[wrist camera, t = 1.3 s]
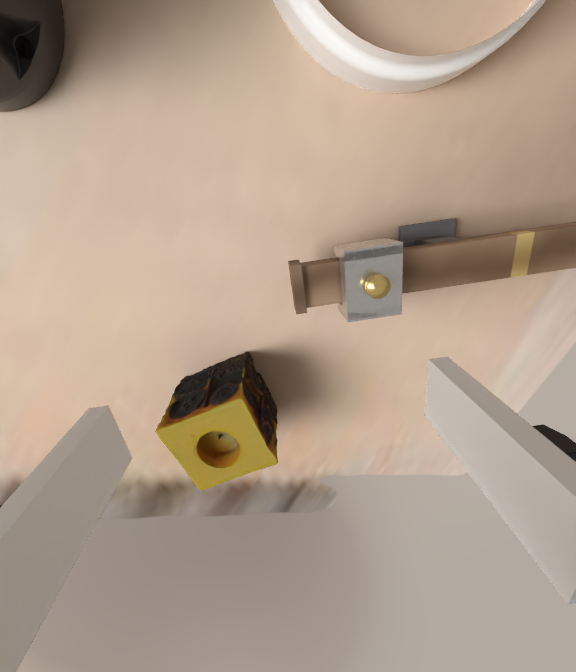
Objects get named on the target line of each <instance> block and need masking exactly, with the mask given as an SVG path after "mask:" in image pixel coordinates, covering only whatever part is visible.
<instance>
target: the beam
mask: <svg viewBox="0 0 576 672" xmlns="http://www.w3.org/2000/svg"><path fill="white" fill-rule="evenodd" d="M455 225H456V219H446V220H440V221H433V222H426V223H419V224H413V225H406V226H399V241H401V242H403V274H402V293H409V292H415V291H422V290H429V289H435V288H442V287H449V286H455V285H462V284H469V283H476V282H482V281H489V280H496V279H502V278H509V277H510V278H511V277H518V276H524V275H529V274H536V273H543V272H549V271H556V270H563V269H569V268H576V222H572V223H565V224H559V225H552V226H545V227H538V228H532V229H525V230H517V231H510V232H503V233H498V234H491V235H485V236H478V237H471V238H458V237H455ZM288 262H289V270H290V277H291V285H292V292H293V300H294V306H295V310H296V314H302V313H307V309H306V308H308V307H315V306H322V305H328V304H335V303H342V294H341V279H340V263H339V258H338V257H337V258H330V259H323V260H317V261H310V262H303V263H300V262H299V260H293V261H288Z"/></svg>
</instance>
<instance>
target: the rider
mask: <svg viewBox="0 0 576 672" xmlns="http://www.w3.org/2000/svg"><path fill="white" fill-rule="evenodd" d="M334 254H335V256H337V257H338V258H339V263H340V279H341V294H342V303H338V309H339V310H340V312H341V313H342V315H343V316H344V317H345V319H346V320H347V322H353V321H359V320H366V319H373V318H379V317H386V316H393V315H399V314H402V274H403V242H401V241H396V240H392V239H388V238H382V239H375V240H369V241H362V242H355V243H348V244H342V245H335V246H334Z"/></svg>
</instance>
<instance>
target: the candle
mask: <svg viewBox="0 0 576 672" xmlns="http://www.w3.org/2000/svg"><path fill="white" fill-rule="evenodd" d="M261 377H262V376H261V374H258V373H257V372H256V370H255V366H254V362H253V359H252V357H251V355H250V354H249V352H245V353H244V354H243V355H238V356H236V357H235V358H229V359H227V360H226V361H223V362H220V363H217V364H215V365H214V366H212V367H208V368H207V369H204V370H203V371H200V372H198V373H196V374H194V375H192V376H186V377H185V378H184V379H182V380H181V382H180V384H179V385H178V386H177V387H176V388H175V391H174V392H175V393H174V394H173V395H172V399H171V401H170V404H169V406H168V408H167V409H166V414H165V415H164V416H163V417H162V420H161V422H160V424H159V425H158V427H157V429H156V431H155V432H156V433H157V435H158V436H159V438H160V439H161V440H162V441H163V443H164V444H165V445H166V446H167V448H168V449H169V450H170V451H171V453H172V454H173V455H174V456H175V458H176V459H177V460H178V461H179V463H180V464H181V465H182V467H183V468H184V469H185V471H186V472H187V474H188V475H189V476H190V478H191V479H192V480H193V482H194V483H195V484H196V486H197V487H198V488H199V489H201V490H204V489H208V488H211V487H213V486H215V485H218V484H220V483H222V482H225V481H228V480H231V479H234V478H236V477H239V476H242V475H245V474H247V473H250V472H253V471H256V470H259V469H263V468H266V467H269V466H272V465H275V464H277V463H278V460H277V448H276V447H277V438H276V429H277V415H276V413H277V407H276V405H275V403H274V401H273V399H272V397H271V393H270V392H269V390H268V388H267V386H266V384H265V382H264V380H263V378H261Z"/></svg>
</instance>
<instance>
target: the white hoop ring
mask: <svg viewBox="0 0 576 672" xmlns="http://www.w3.org/2000/svg"><path fill="white" fill-rule="evenodd" d="M545 1H546V0H533V1H532V2H531V4H530V5H529V6H528V8H527V9H526V11H525V12H524V13H523V14H522V15H521V16H520V17H519V18H517V19H516V20H515V21H514V22H513V23H512V24H511V25H510V26H508V27H507V28H505V29H504V30H502V31H501V32H499V33H497V34H496V35H494V36H493V37H491V38H489V39H487V40H485V41H483V42H481V43H479V44H477V45H474V46H472V47H469V48H466V49H463V50H460V51H457V52H453V53H448V54H443V55H435V56H411V55H404V54H399V53H394V52H390V51H388V50H385V49H382V48H379V47H376V46H374V45H372V44H370V43H369V42H367V41H365V40H363V39H361V38H359V37H358V36H357V35H355V34H354V33H352V32H351V31H349V30H348V29H347V28H345V27H344V26H343V25H342V24H341V23H340V22H339V21H337V20H336V19H335V18H334V17H333V16H332V15H331V14H330V13H329V12H328V11H327V10H326V8H325V7H324V6H323V5H322V4H321V3H320V2H319V0H273V2H274V4H275V6H276V8H277V10H278V12H279V14H280V16H281V17H282V19H283V20H284V22H285V24H286V25H287V27H288V28H289V30H290V32H291V33H292V34H293V36H294V37H295V38H296V39H297V41H298V42H299V43H300V45H301V46H302V47H303V48H304V49H305V50H306V51H307V52H308V53H309V55H310V56H311V57H312V58H313V59H314V60H315V61H317V62H318V63H319V64H320V65H321V66H323V67H324V68H325V69H326V70H327V71H329V72H330V73H332V74H333V75H335V76H337V77H338V78H340V79H341V80H343V81H345V82H348V83H350V84H352V85H354V86H357V87H360V88H363V89H366V90H369V91H374V92H380V93H392V94H399V93H411V92H416V91H421V90H426V89H429V88H432V87H434V86H437V85H440V84H443V83H445V82H447V81H449V80H451V79H453V78H455V77H457V76H458V75H460V74H462V73H463V72H465V71H467V70H468V69H470V68H471V67H473V66H474V65H475V64H477V63H478V62H480V61H481V60H483V59H484V58H485V57H487V56H488V55H490V54H491V53H492V52H494V51H495V50H496V49H498V48H499V47H500V46H502V45H503V44H504V43H506V42H507V41H508V40H509V39H510V38H511V37H512V36H513V35H514V34H515V33H517V32H518V31H519V30H520V29H521V28H522V27H523V26H524V25H525V24H526V23H527V22H528V20H529V19H530V18H531V17H532V16H533V15H534V14H535V13H536V12H537V11H538V10H539V8H540V7H541V6H542V5H543V3H544V2H545Z"/></svg>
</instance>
